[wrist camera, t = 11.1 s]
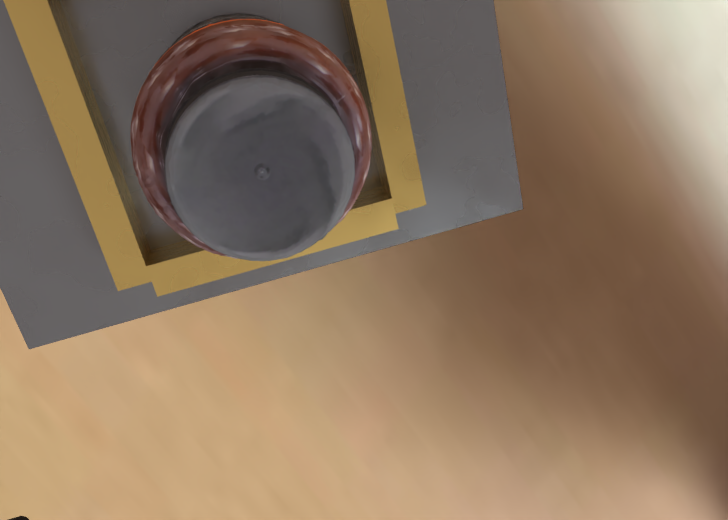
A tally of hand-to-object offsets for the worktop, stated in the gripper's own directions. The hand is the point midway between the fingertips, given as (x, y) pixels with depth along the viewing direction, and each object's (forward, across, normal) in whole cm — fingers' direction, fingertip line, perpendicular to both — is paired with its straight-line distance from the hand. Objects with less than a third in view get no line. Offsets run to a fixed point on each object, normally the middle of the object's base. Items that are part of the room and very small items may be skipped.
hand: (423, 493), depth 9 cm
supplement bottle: (+18, +1, -3) cm, 19 cm away
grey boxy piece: (+24, +2, -5) cm, 25 cm away
